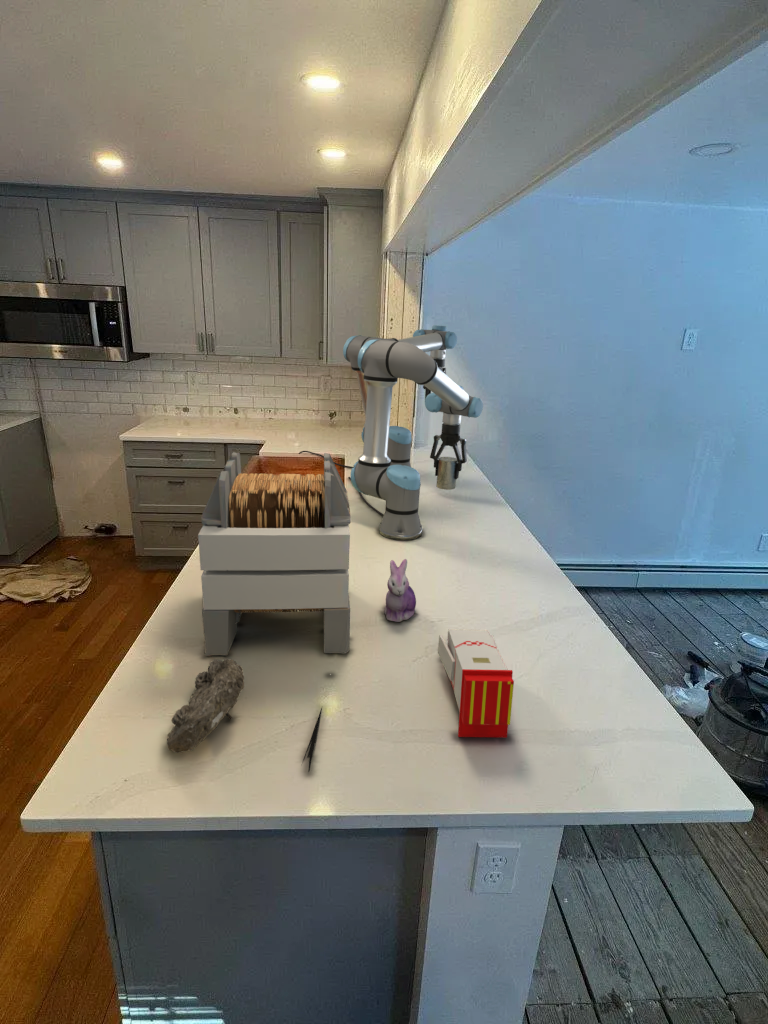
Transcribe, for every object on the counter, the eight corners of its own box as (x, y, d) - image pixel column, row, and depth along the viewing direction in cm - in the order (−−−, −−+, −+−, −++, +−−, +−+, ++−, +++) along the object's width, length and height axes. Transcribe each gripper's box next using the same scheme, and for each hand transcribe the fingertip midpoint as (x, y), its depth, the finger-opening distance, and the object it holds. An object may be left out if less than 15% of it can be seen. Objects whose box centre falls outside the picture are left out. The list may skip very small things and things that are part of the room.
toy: (488, 613, 130) (523, 677, 101) (484, 667, 133) (517, 744, 104) (435, 612, 130) (455, 676, 101) (432, 666, 133) (451, 743, 103)
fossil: (192, 660, 117) (244, 628, 112) (224, 691, 120) (276, 661, 115) (142, 746, 98) (202, 712, 93) (182, 779, 101) (242, 748, 96)
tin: (432, 485, 243) (434, 457, 239) (446, 483, 247) (449, 455, 243) (444, 490, 237) (447, 462, 233) (459, 488, 241) (461, 460, 237)
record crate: (226, 586, 157) (217, 442, 143) (344, 585, 161) (346, 445, 147) (202, 658, 125) (189, 482, 112) (350, 654, 129) (354, 483, 115)
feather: (331, 679, 122) (336, 673, 122) (307, 777, 96) (313, 769, 95) (324, 675, 122) (329, 669, 121) (298, 772, 95) (304, 764, 95)
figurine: (392, 627, 141) (395, 572, 136) (374, 608, 149) (376, 556, 144) (425, 619, 145) (429, 566, 140) (405, 601, 154) (408, 550, 149)
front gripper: (478, 425, 232) (472, 478, 240) (430, 419, 240) (426, 471, 247) (473, 428, 226) (467, 482, 233) (424, 421, 233) (420, 475, 241)
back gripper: (430, 360, 269) (427, 404, 276) (456, 357, 288) (453, 399, 295) (417, 358, 273) (414, 402, 280) (444, 356, 292) (440, 398, 299)
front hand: (446, 476), depth 240 cm, fingers closed on tin, 8 cm apart
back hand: (434, 401), depth 288 cm, fingers open, 13 cm apart
